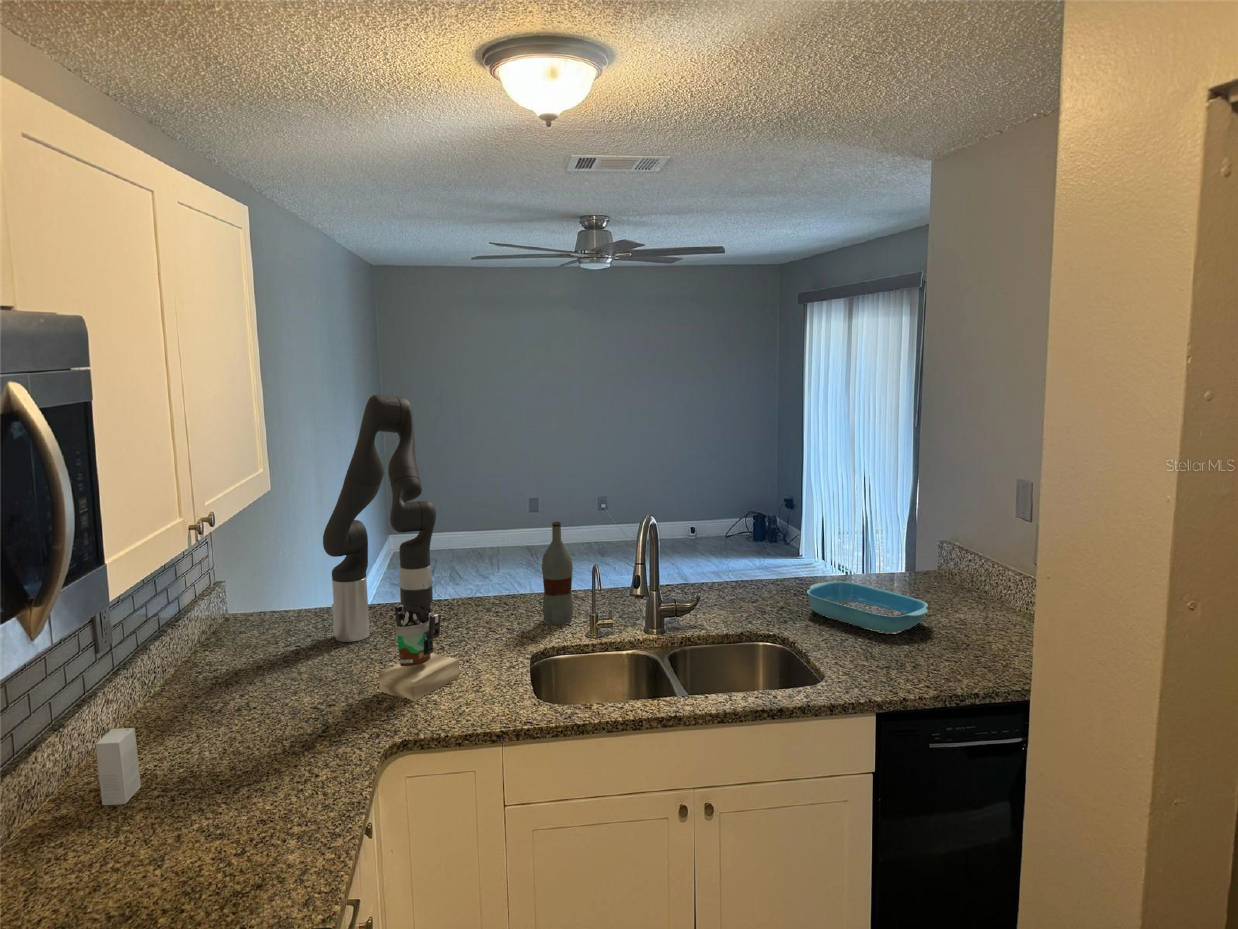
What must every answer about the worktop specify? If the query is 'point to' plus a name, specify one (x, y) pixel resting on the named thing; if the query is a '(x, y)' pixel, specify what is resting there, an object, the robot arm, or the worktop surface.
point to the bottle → (557, 580)
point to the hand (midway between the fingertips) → (418, 650)
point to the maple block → (419, 677)
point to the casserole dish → (831, 592)
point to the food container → (412, 643)
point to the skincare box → (118, 766)
